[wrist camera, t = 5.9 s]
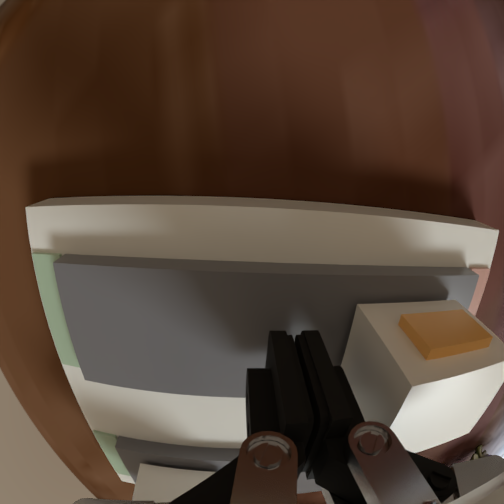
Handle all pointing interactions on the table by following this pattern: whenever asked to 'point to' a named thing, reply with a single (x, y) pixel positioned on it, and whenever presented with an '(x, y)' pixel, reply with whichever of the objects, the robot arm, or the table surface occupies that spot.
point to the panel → (221, 303)
